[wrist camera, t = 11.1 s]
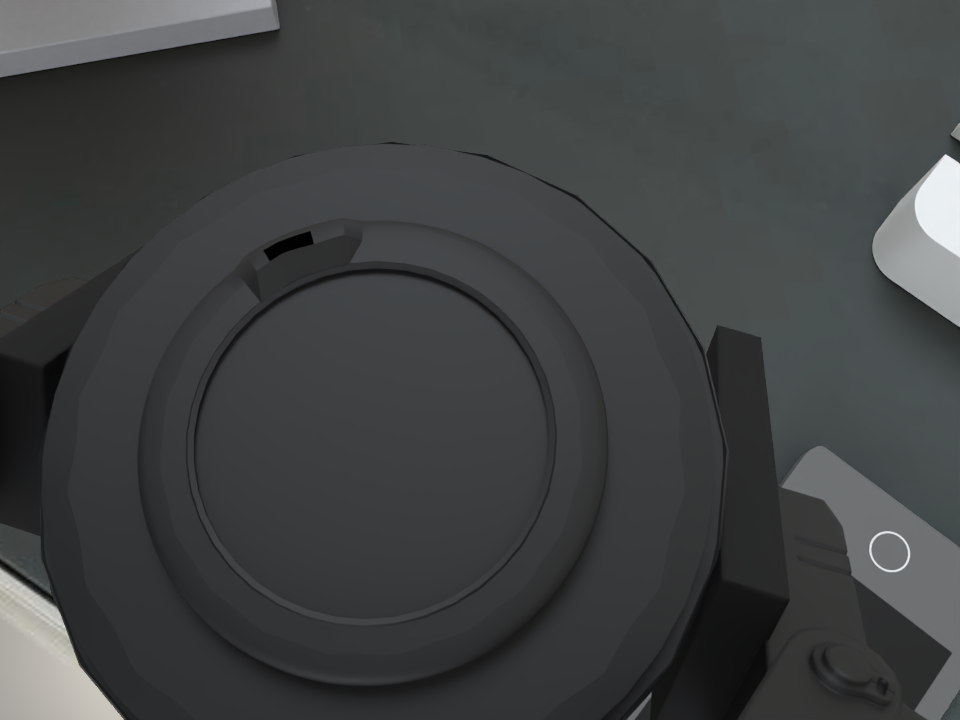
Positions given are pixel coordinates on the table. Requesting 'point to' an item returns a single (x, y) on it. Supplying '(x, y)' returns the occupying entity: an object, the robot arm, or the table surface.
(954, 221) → the u-slot mount
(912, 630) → the smartphone
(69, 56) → the coffee maker
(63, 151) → the table surface
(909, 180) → the table surface
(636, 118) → the table surface
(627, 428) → the coffee cup
